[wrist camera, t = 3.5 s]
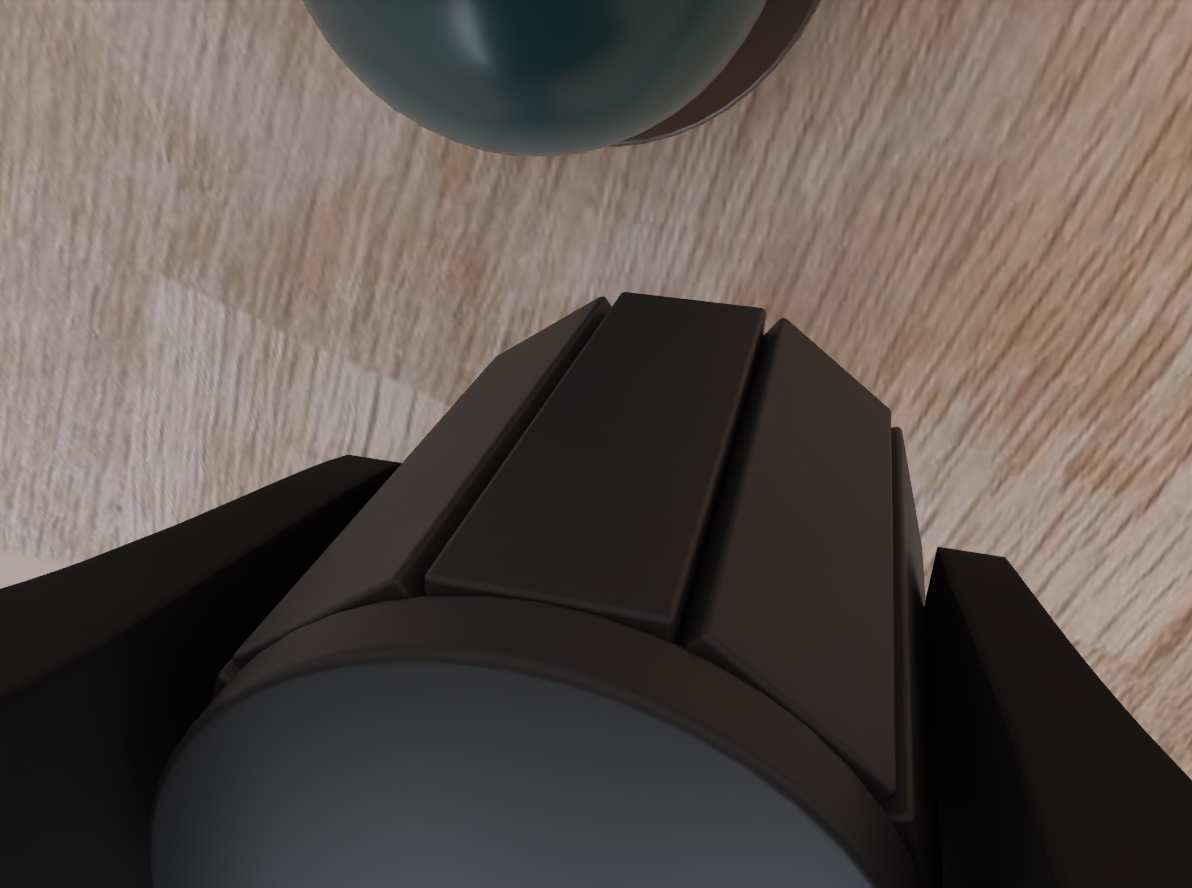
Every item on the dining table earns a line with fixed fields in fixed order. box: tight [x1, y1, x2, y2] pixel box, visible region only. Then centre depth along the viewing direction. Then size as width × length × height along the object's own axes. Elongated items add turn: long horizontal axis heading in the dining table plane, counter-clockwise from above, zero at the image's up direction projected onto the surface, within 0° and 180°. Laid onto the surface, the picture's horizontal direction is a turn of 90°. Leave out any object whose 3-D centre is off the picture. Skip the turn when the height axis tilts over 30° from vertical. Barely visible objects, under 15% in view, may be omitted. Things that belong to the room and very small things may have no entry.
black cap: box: [147, 292, 943, 888], centre depth 9 cm, size 5×5×6 cm
